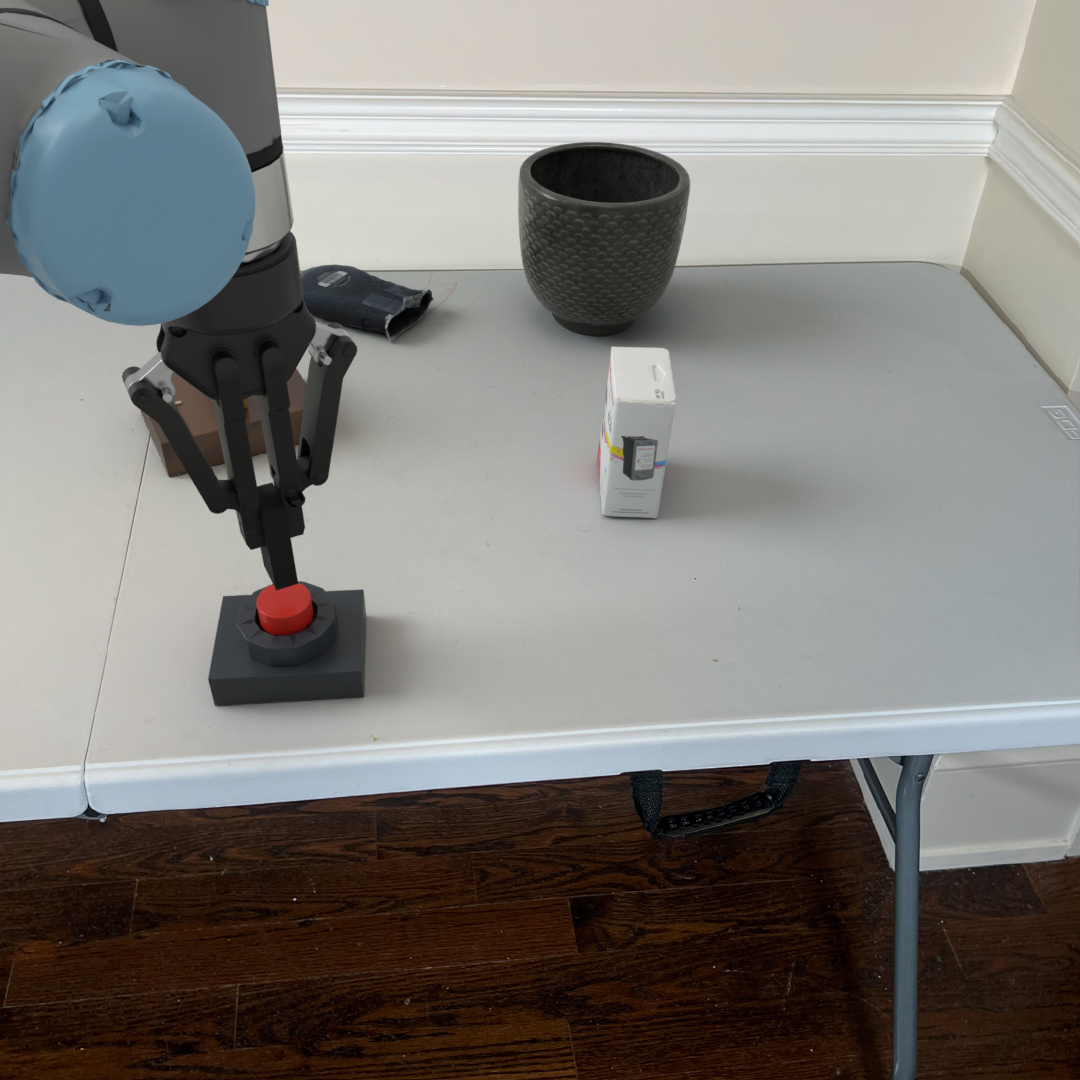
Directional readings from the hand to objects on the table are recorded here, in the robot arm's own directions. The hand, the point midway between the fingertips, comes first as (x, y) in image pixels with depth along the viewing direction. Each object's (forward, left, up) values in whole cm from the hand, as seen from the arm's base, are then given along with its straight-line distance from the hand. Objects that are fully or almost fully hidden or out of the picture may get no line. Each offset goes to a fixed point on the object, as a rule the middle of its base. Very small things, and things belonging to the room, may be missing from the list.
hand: (280, 574), depth 68 cm
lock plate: (+4, +30, -8) cm, 32 cm away
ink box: (+32, +6, -8) cm, 34 cm away
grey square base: (0, 0, -8) cm, 8 cm away
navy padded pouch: (+22, +46, -8) cm, 52 cm away
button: (0, 0, -4) cm, 4 cm away
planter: (+45, +34, -8) cm, 57 cm away
